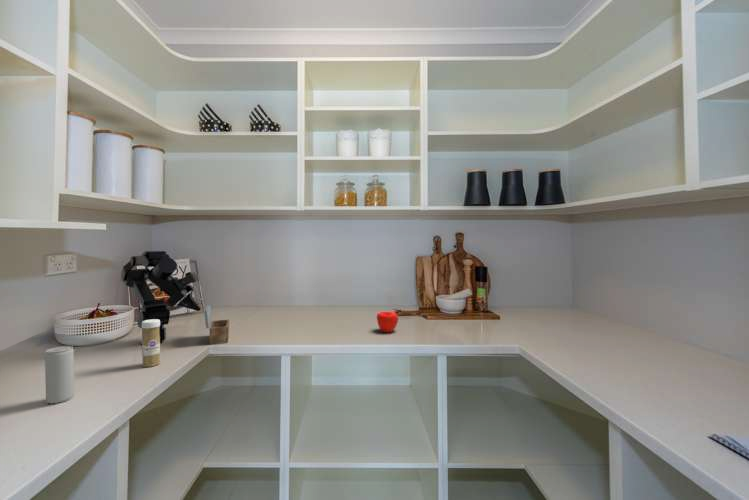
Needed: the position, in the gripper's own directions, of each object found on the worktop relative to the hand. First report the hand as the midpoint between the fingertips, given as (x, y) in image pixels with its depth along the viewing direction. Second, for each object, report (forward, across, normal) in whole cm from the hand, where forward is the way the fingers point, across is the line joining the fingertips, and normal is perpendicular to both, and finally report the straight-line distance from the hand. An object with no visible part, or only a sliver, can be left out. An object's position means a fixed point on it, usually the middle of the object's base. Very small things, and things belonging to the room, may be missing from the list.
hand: (199, 309), depth 121 cm
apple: (+59, -12, -42) cm, 73 cm away
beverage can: (-9, -39, +26) cm, 48 cm away
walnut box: (+13, 0, +4) cm, 14 cm away
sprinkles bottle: (+1, -21, +16) cm, 26 cm away
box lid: (+4, 0, -1) cm, 4 cm away
